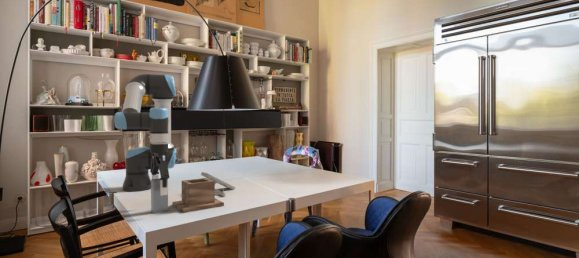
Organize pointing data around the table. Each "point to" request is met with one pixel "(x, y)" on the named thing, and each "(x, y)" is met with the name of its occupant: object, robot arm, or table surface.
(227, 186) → the door handle
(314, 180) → the table surface
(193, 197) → the brown wooden stand
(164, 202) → the steel bracket
